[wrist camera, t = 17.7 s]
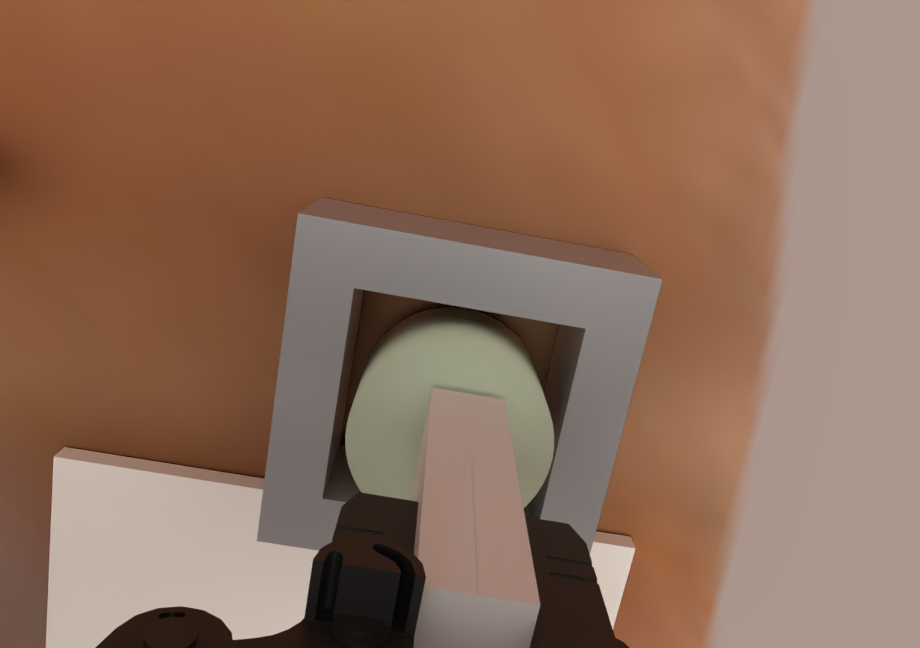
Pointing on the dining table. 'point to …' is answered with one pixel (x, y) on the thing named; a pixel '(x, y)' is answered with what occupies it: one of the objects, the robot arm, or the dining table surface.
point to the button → (450, 368)
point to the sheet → (190, 550)
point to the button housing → (459, 284)
